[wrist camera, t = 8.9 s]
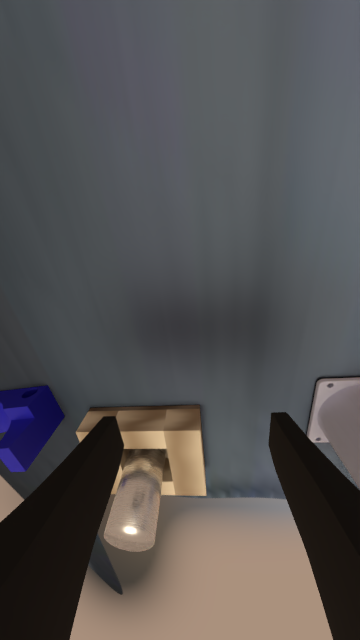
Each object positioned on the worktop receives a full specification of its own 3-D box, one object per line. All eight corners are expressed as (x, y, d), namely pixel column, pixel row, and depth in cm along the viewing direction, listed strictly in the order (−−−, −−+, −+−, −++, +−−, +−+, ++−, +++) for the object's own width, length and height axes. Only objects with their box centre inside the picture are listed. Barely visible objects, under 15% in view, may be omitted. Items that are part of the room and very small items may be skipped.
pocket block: (199, 404, 21) (200, 430, 18) (205, 466, 25) (206, 495, 22) (90, 407, 22) (75, 432, 20) (111, 466, 26) (101, 493, 24)
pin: (165, 430, 22) (151, 527, 15) (168, 454, 24) (157, 552, 16) (130, 429, 23) (98, 524, 15) (135, 453, 24) (109, 549, 17)
